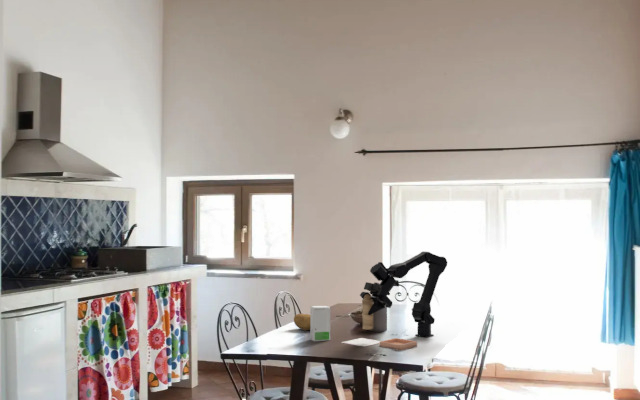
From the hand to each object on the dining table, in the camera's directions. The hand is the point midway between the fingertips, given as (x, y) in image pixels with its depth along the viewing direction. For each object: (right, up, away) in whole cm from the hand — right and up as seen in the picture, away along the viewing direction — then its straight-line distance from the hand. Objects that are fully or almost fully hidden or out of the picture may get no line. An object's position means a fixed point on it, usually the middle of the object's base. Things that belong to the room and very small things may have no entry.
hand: (365, 313), depth 291 cm
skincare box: (-20, -14, +9) cm, 26 cm away
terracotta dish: (+14, -13, -8) cm, 21 cm away
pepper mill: (+1, -7, +1) cm, 7 cm away
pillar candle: (+9, -14, +34) cm, 38 cm away
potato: (-27, -15, +36) cm, 48 cm away
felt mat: (-1, -13, +1) cm, 13 cm away
